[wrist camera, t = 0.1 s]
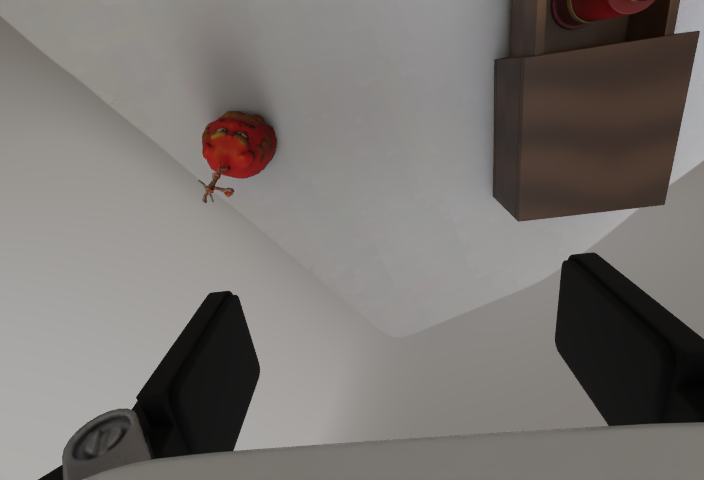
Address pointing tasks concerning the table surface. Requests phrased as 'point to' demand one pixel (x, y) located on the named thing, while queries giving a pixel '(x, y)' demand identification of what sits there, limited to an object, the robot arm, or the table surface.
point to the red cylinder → (592, 11)
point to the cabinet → (589, 126)
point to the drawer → (584, 28)
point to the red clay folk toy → (237, 147)
